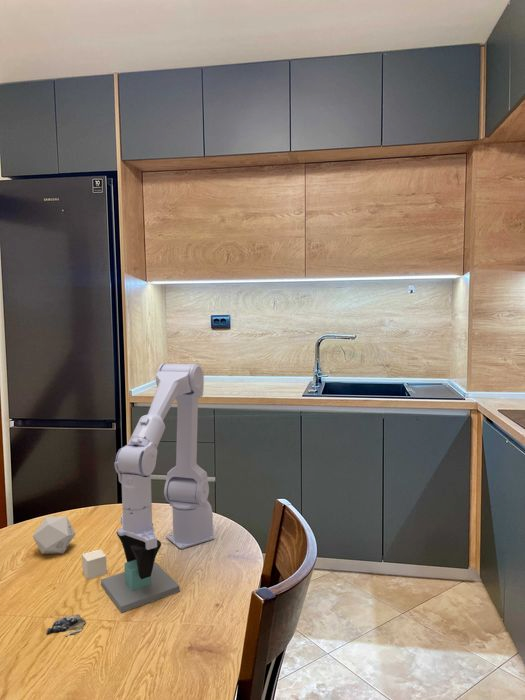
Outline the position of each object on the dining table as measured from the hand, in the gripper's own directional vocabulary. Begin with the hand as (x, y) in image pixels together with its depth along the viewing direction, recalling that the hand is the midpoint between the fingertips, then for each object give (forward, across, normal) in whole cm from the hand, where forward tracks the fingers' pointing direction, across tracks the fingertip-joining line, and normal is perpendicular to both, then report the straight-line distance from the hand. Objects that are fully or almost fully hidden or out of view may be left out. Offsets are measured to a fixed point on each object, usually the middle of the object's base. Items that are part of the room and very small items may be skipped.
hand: (139, 570), depth 100 cm
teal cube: (+3, 0, 0) cm, 3 cm away
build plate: (+4, 0, 0) cm, 4 cm away
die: (+4, -28, -10) cm, 30 cm away
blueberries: (+4, +4, -16) cm, 17 cm away
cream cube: (+4, -12, -6) cm, 14 cm away
